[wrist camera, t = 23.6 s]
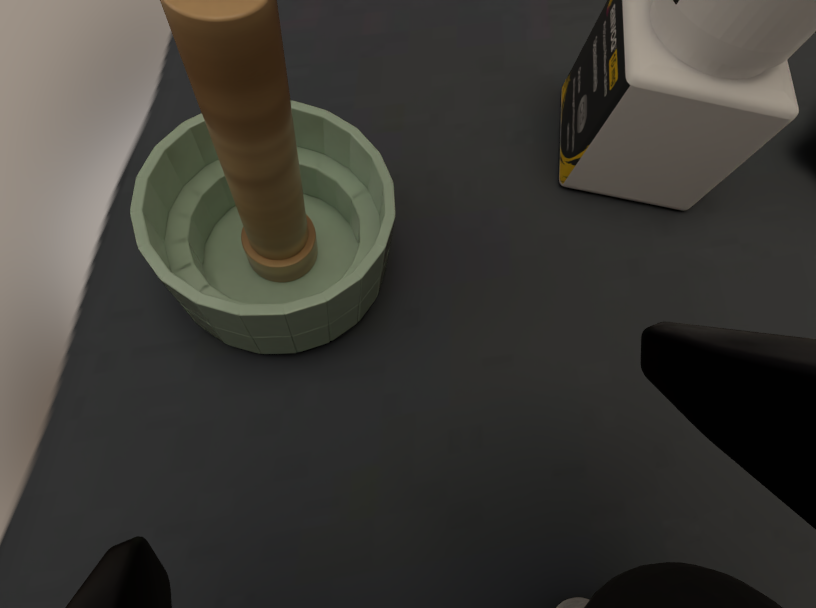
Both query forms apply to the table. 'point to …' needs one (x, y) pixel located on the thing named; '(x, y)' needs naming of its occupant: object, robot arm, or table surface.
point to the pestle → (249, 124)
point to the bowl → (221, 231)
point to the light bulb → (673, 590)
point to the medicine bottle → (678, 95)
